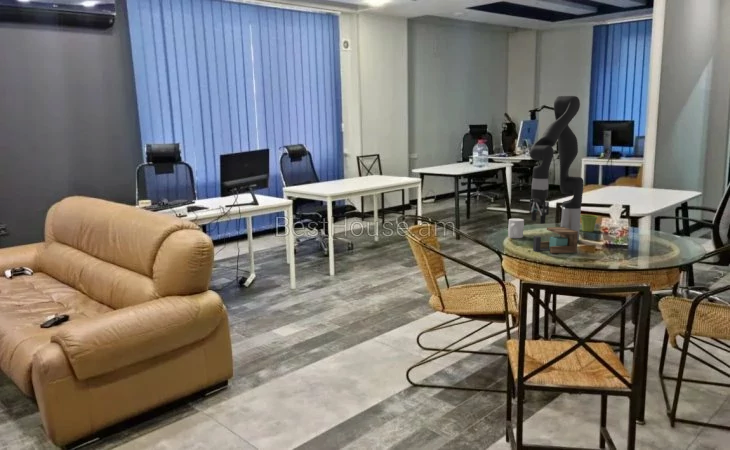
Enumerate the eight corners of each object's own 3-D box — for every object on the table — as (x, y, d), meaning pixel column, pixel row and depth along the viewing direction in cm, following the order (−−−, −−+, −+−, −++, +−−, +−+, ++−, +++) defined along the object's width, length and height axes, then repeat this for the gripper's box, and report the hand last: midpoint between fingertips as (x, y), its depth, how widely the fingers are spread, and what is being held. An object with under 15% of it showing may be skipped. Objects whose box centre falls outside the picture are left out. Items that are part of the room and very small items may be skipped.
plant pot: (575, 230, 321) (576, 215, 319) (589, 229, 323) (590, 214, 322) (586, 233, 312) (587, 217, 310) (600, 232, 315) (601, 216, 313)
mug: (512, 217, 307) (526, 219, 303) (511, 234, 309) (525, 235, 305) (504, 220, 298) (519, 222, 293) (503, 238, 299) (518, 239, 295)
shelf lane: (538, 247, 275) (539, 227, 273) (562, 246, 277) (563, 226, 276) (551, 253, 263) (552, 232, 261) (576, 252, 265) (577, 231, 263)
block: (531, 249, 271) (532, 235, 270) (560, 248, 274) (561, 234, 272) (537, 252, 265) (538, 238, 264) (567, 251, 268) (567, 236, 267)
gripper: (525, 186, 269) (523, 219, 272) (540, 189, 255) (538, 224, 258) (539, 186, 270) (538, 219, 273) (555, 189, 257) (553, 224, 259)
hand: (538, 222), depth 266 cm, fingers open, 8 cm apart
